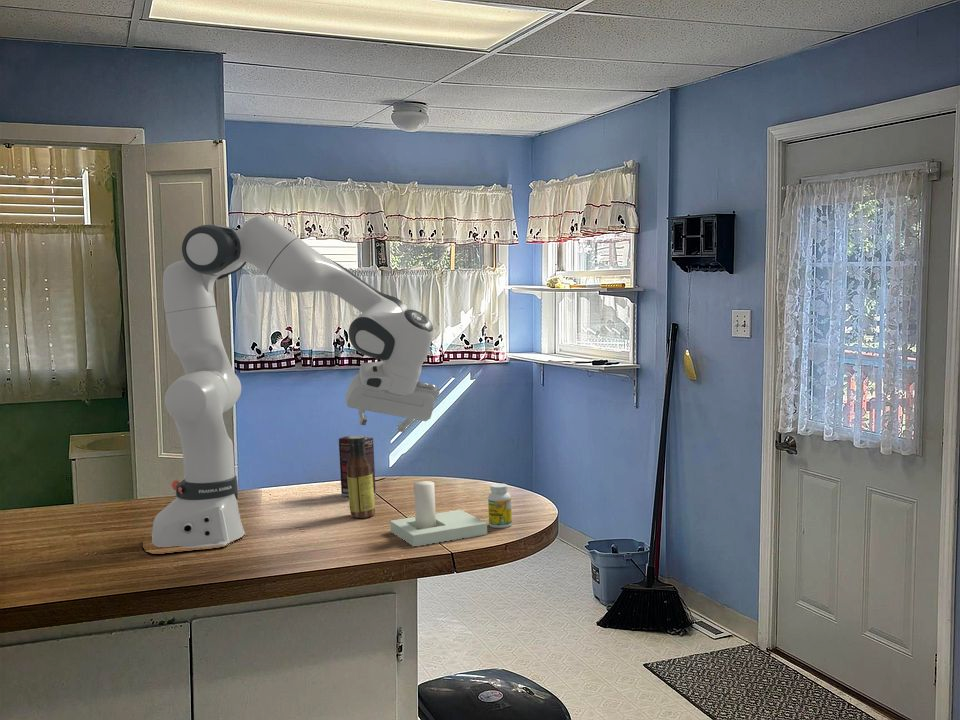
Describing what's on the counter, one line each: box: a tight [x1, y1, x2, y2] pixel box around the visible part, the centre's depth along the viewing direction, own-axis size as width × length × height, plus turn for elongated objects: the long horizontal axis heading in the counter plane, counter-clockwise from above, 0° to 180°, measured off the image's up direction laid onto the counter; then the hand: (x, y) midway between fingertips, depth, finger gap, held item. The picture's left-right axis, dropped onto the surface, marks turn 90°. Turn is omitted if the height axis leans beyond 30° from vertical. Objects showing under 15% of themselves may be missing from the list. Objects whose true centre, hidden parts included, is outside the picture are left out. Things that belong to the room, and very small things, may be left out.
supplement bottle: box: [487, 482, 513, 529], centre depth 216 cm, size 5×5×10 cm
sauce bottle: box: [347, 435, 376, 519], centre depth 227 cm, size 7×6×20 cm
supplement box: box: [338, 435, 377, 498], centre depth 248 cm, size 9×5×16 cm, turn 58°
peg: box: [413, 480, 436, 530], centre depth 209 cm, size 5×5×12 cm
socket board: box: [389, 509, 488, 547], centre depth 211 cm, size 18×14×3 cm
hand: (381, 427), depth 215 cm, fingers open, 8 cm apart
